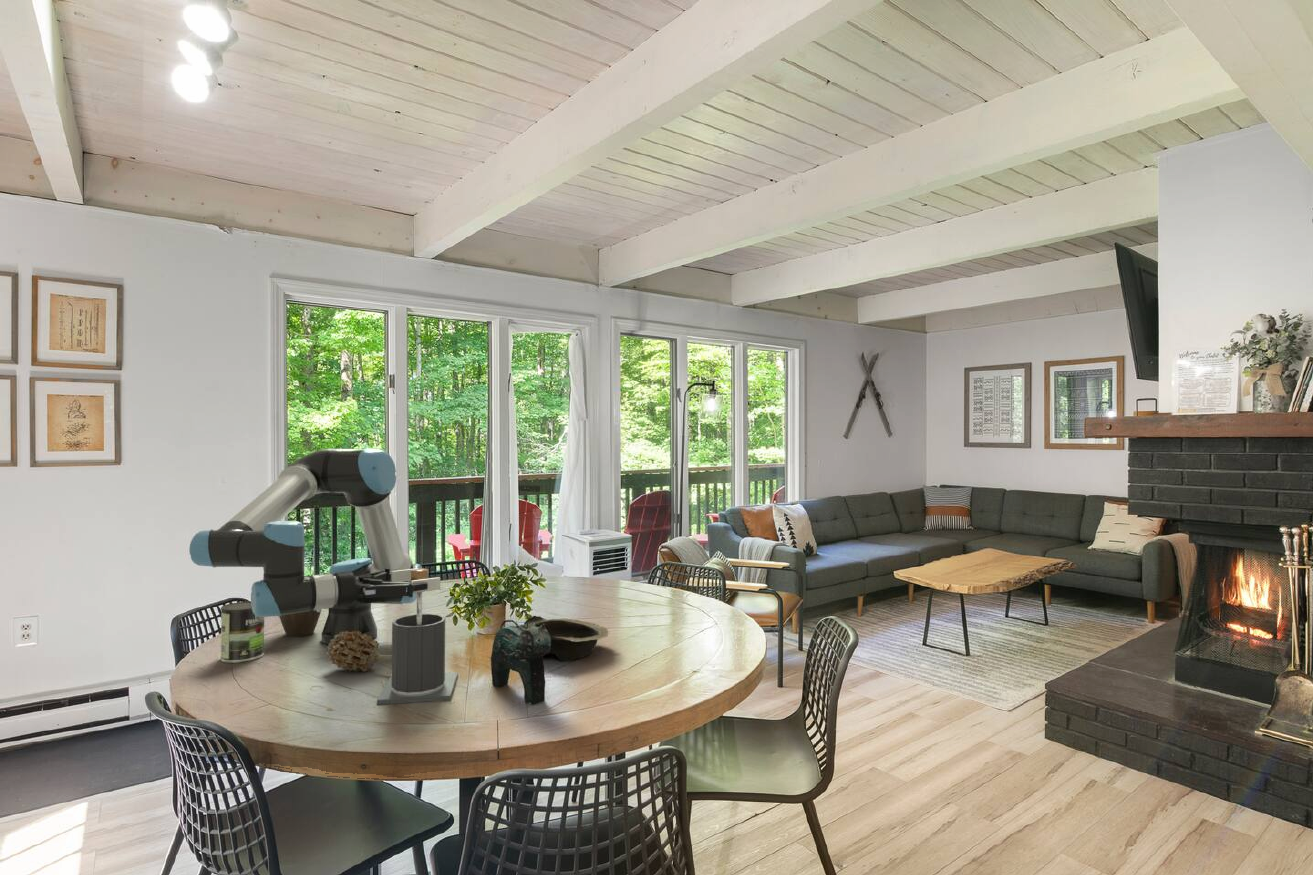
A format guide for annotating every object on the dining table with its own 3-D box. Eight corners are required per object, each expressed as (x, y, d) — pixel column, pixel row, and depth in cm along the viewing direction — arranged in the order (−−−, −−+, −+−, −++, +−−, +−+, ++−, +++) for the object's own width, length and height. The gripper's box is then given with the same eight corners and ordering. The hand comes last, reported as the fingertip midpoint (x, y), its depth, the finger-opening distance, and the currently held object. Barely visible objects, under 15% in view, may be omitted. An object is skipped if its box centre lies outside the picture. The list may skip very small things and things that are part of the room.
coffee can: (273, 652, 190) (273, 601, 190) (244, 664, 180) (244, 610, 180) (241, 649, 193) (242, 599, 193) (210, 661, 182) (211, 608, 182)
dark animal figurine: (553, 702, 157) (553, 615, 157) (529, 710, 152) (530, 620, 152) (506, 679, 171) (507, 599, 171) (483, 686, 166) (483, 603, 166)
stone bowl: (501, 657, 188) (503, 622, 188) (555, 640, 210) (556, 610, 210) (576, 671, 176) (577, 634, 177) (625, 652, 198) (626, 619, 199)
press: (391, 679, 170) (391, 611, 170) (457, 675, 173) (458, 608, 173) (376, 704, 154) (377, 628, 154) (450, 699, 157) (451, 626, 157)
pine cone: (316, 675, 173) (317, 635, 173) (338, 662, 182) (338, 625, 182) (399, 679, 170) (400, 639, 170) (417, 666, 180) (417, 628, 180)
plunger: (401, 676, 166) (402, 567, 166) (441, 674, 168) (442, 566, 168) (394, 690, 157) (395, 574, 157) (436, 688, 159) (437, 573, 159)
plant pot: (311, 641, 201) (311, 586, 201) (261, 640, 201) (261, 586, 201) (336, 627, 216) (336, 576, 216) (289, 626, 216) (289, 575, 216)
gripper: (318, 596, 160) (409, 585, 173) (349, 619, 140) (449, 604, 154) (318, 564, 160) (409, 555, 173) (350, 582, 140) (449, 570, 154)
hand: (428, 578), depth 164 cm, fingers open, 13 cm apart
